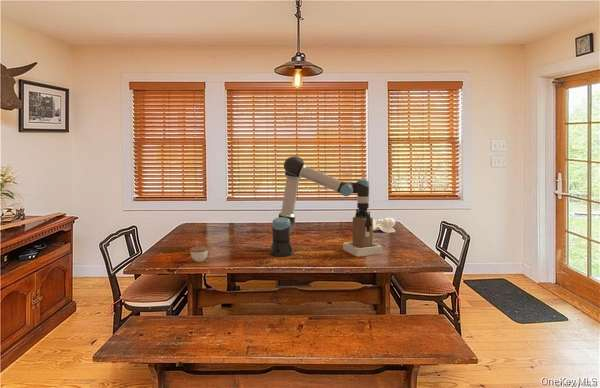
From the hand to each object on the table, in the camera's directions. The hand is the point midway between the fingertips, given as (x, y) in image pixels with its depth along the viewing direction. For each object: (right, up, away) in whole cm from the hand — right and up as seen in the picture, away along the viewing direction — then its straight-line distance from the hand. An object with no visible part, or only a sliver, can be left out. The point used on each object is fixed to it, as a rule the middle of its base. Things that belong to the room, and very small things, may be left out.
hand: (362, 234), depth 270 cm
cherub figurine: (+27, -4, +67) cm, 72 cm away
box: (0, -12, +1) cm, 12 cm away
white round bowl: (-106, -15, -18) cm, 108 cm away
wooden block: (0, -8, +1) cm, 8 cm away
